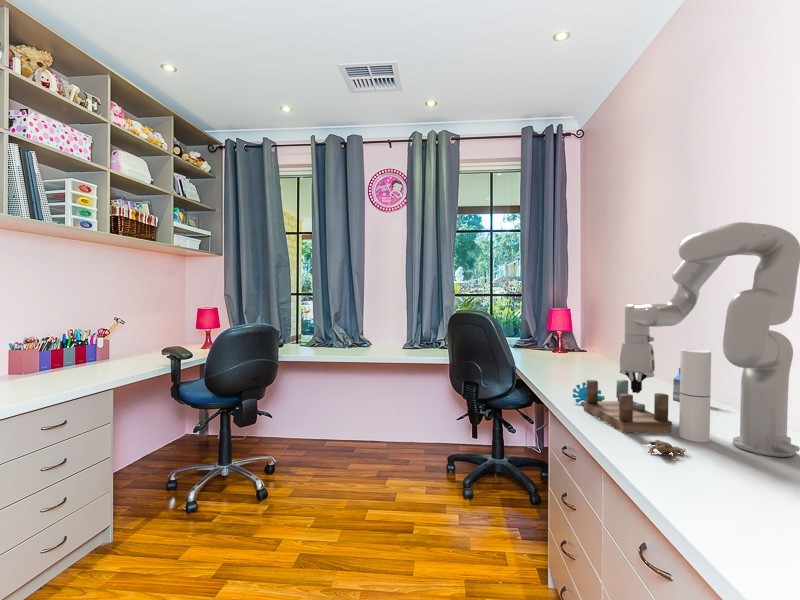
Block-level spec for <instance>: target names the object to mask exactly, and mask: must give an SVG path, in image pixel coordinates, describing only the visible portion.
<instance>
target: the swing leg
mask: <svg viewBox="0 0 800 600" xmlns="http://www.w3.org/2000/svg"><path fill="white" fill-rule="evenodd" d="M615 393H616V395H615V397H616V399H617V401H619V394H629V381H628V380H626V379H617V380H616V392H615ZM633 408H634V409H636V410H638V411H645V410H646V404H644V403H638V402H636V401H634V400H633Z"/></svg>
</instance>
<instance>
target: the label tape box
mask: <svg viewBox="0 0 800 600" xmlns="http://www.w3.org/2000/svg"><path fill="white" fill-rule="evenodd" d="M672 385H673V387H672V401H676V402H680V367H679V368H678V374H677V375H676V376H675V377H673V384H672Z"/></svg>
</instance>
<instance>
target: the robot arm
mask: <svg viewBox="0 0 800 600" xmlns="http://www.w3.org/2000/svg"><path fill="white" fill-rule="evenodd" d="M678 255H679V257H680V258H681V260H682V261H681V262H680V264H679V265H678V266H677V268H676V269H674V272H673V273H672V275H671V277H672V280H673V281H674V283H675V284H677V290H676V292H675V294H674V295H673V296H672V297H671V299H670V300H669V301H668V302H667V303H650V304H649V303H648V304H644V303H628V304H626V305H625V307H624V342H622V344H621V349H620V355H619V374H622V375H626V377H627V378H628V379H629V381H630V390H632V393H633V394H634V393H635V394H639V393H641V391H642V389H643V381H644V380H645V379H647V378H648V379H649V378H654V377H655V370H656V369H655V368H656V364H655V353H654V352H655V351H654V347H653V343H651V342H654V341H655V337H653V336H651V334H650V327H651V328H659V327H661V328H662V327H672V326H677V325H679V324H680V323H681V322H682V321H684V320H685V319H686V317H687V316H688V315H690V313H692V311H693V310H694V309H695V306H696V305H697V303H698V300H699V296H700V290H701V288H702V287H703V286H704V284H705V283H706V282H707V281H708V280H709V279H710V278H711V277H712V276H713V274H714V273H715V272H716V271H717V269H718V268H719V267H720V266H721V265H722V263H724V261H725V260H726V259H727V257H733V256H756V257H759V261H758V264H757V266H756V267H755V271H754V274H753V281H752V288H751V289H746V290H743V291H740V292H738V293H736V295H734V296H733V297H732V298H731V300H730V302H729V304H728V306H727V308H726V309H727V310H726V314H725V315H726V316H725V323H724V330H723V339H722V351H723V355H724V357H725V358H726V359H727V361H728V362H729V363H730V364H731V365H733V366H735V367H738V368H742V373H741V379H740V380H741V381H740V413H739V414H740V424H739V435H738V436H735V437H733V438H732V444H733V445H734V446H736V447H737V448H739V449H741V450H744V451H747V452H749V453H754V454H757V455H758V454H759V455H762V456H763V455H764V456H769V457H778V458H787V457H788V458H789V457H793V456H795V454H796V453H797V452H799V451H800V447H799V446H798V445H795V444H794V443H793V444H792V442H791V441H792V438H791V437H790V436H788V408H789V407H788V406H789V405H788V403H789V402H788V401H789V382H790V381H789V379H790V371H791V367H792V363H793V358H794V346H793V345H792V342H791V340H789V338H788V337H786V336H785V334H783V333H781V332H778V331H777V330H776V331H775V330H770V326H778V325H782V324H785V323H787V321H789V320H790V319H791V317H792V316H793V311H794V308H795V307H794V306H795V298H796V291H797V283H798V276H799V275H798V274H799V269H800V242H799V240H798V239H797V237H796V236H795V235H794V234H792V232H790V231H788V230H786V229H783V228H782V227H779V226H776V225H771V224H767V223H766V224H765V223H757V222H756V223H754V222H745V221H744V222H743V221H741V222H738V221H737V222H732V223H729V224H723V225H721V226H717V227H714V228H710V229H707V230H703V231H698V232H696V233H692V234H690V235H688V236H687V237H685V238H684V239H683V240H682V241H681V242H680V244H679V247H678ZM636 373H637V377H636Z"/></svg>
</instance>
